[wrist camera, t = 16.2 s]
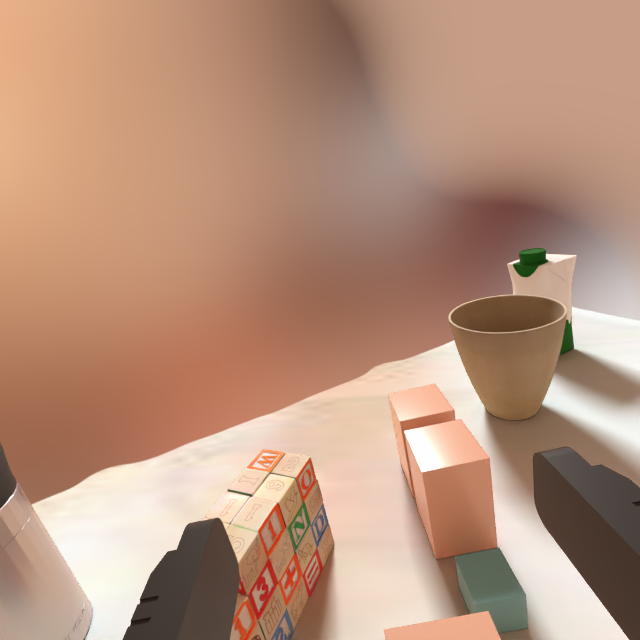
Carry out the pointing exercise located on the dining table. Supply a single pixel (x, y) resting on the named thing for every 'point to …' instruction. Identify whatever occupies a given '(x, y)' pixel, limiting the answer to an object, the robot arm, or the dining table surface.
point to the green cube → (492, 589)
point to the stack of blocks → (274, 542)
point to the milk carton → (546, 281)
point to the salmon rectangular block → (452, 488)
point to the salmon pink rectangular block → (448, 629)
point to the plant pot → (510, 350)
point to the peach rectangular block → (417, 417)
